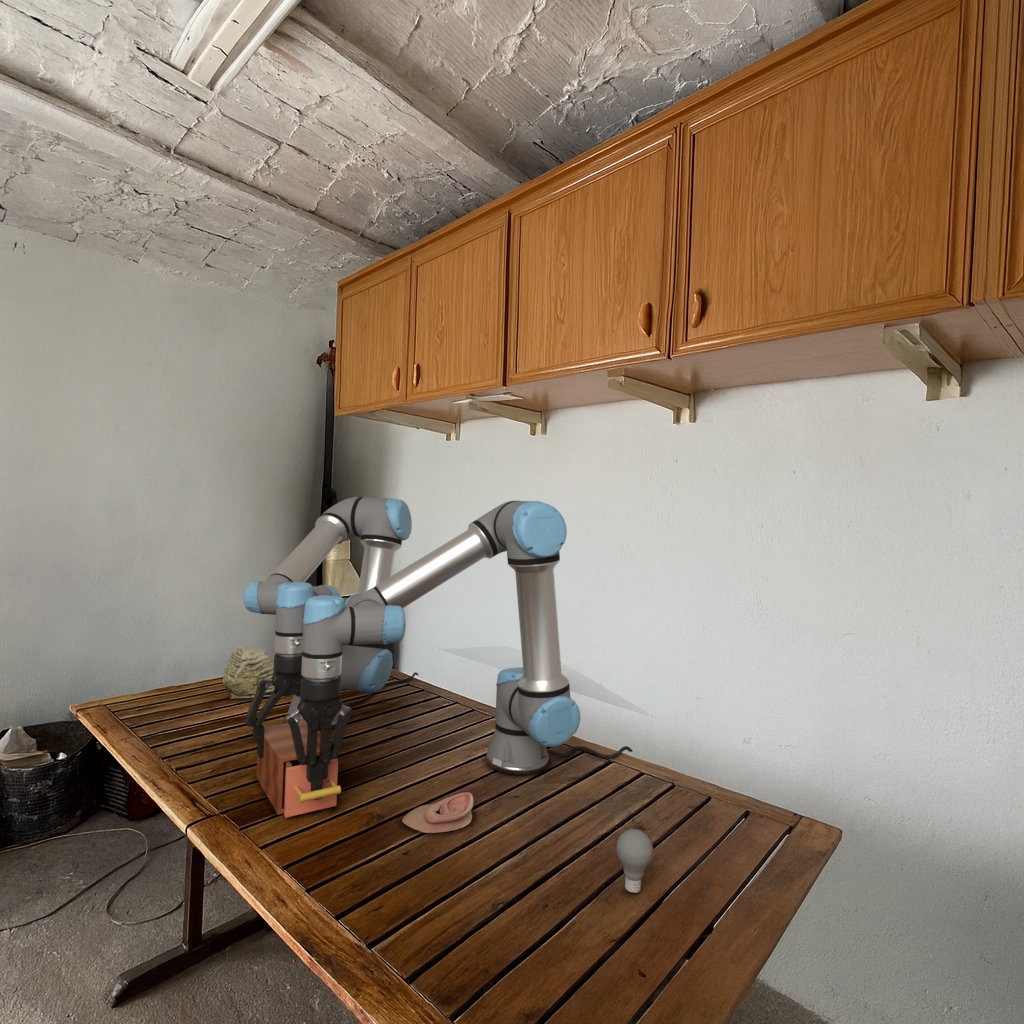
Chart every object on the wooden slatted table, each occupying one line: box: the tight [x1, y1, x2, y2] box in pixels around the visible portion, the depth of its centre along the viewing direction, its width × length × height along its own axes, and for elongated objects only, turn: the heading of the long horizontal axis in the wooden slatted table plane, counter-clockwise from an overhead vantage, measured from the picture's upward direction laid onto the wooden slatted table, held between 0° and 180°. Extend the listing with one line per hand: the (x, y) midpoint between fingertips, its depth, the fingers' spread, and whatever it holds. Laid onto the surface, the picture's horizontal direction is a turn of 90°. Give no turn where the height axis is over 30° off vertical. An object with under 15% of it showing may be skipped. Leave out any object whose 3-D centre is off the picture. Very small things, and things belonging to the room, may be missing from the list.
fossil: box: [222, 646, 275, 699], centre depth 198 cm, size 9×18×15 cm, turn 132°
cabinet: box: [256, 721, 331, 816], centre depth 136 cm, size 19×11×11 cm, turn 34°
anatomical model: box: [401, 791, 474, 834], centre depth 126 cm, size 13×4×12 cm
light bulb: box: [615, 828, 654, 894], centre depth 106 cm, size 6×6×10 cm
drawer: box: [282, 755, 342, 818], centre depth 131 cm, size 23×10×9 cm, turn 34°
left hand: (288, 750), depth 141 cm, fingers closed on cabinet, 11 cm apart
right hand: (316, 796), depth 123 cm, fingers closed
